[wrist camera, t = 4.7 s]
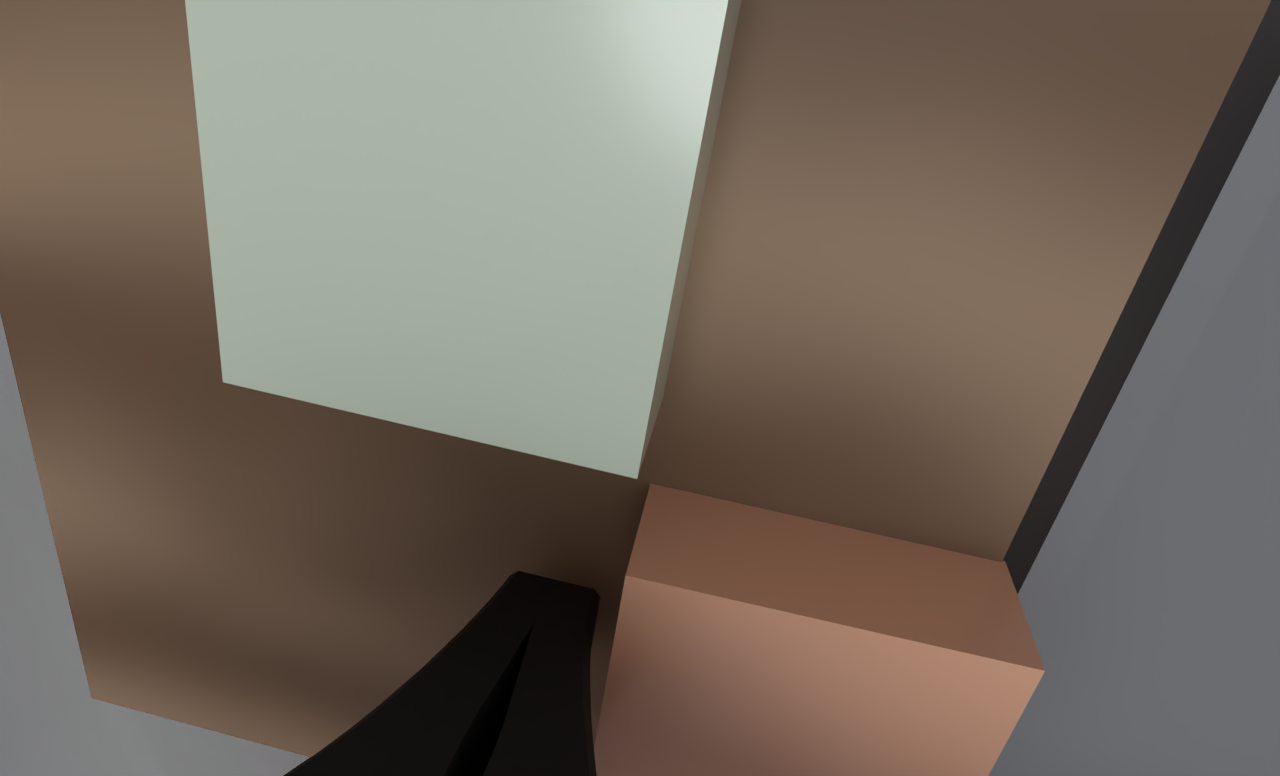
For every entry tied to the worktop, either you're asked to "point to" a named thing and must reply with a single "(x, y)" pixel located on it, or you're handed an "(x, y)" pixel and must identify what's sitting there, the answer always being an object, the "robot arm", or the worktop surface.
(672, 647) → the terracotta tile
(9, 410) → the worktop surface
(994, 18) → the walnut plate
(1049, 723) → the box
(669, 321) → the sage tile
